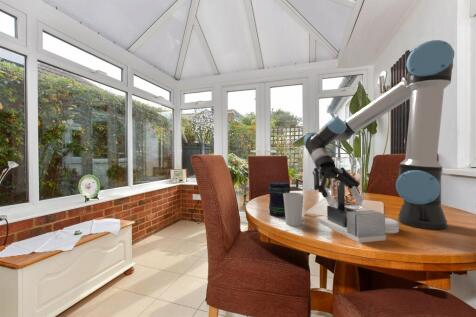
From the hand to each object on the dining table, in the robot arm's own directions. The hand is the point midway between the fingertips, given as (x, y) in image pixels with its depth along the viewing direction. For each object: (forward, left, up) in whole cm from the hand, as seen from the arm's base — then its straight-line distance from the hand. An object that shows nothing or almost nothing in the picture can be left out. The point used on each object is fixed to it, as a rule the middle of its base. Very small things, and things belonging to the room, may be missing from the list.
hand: (346, 203), depth 85 cm
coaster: (-13, +3, -10) cm, 17 cm away
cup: (+16, -11, -10) cm, 22 cm away
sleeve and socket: (0, +2, -8) cm, 9 cm away
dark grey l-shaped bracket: (0, +3, -7) cm, 7 cm away
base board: (0, 0, -10) cm, 10 cm away
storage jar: (+16, -26, -10) cm, 32 cm away
